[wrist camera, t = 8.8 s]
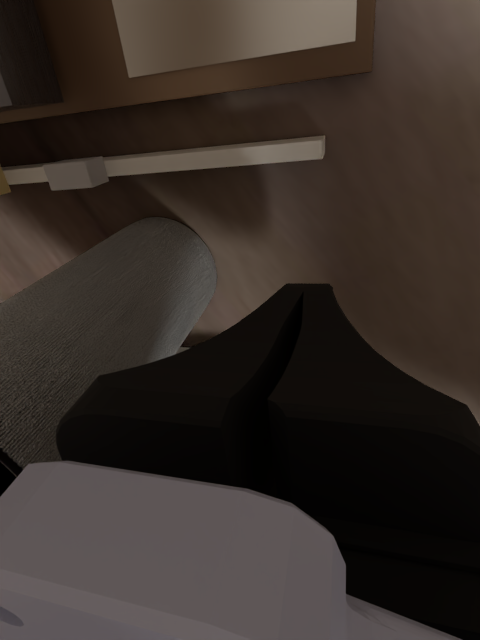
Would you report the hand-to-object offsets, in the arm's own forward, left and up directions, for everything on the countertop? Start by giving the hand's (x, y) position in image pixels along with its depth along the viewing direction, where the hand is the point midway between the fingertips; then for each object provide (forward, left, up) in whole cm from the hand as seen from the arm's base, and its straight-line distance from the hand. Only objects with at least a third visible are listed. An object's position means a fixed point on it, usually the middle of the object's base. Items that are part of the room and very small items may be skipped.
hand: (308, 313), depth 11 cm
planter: (+6, 0, -4) cm, 7 cm away
